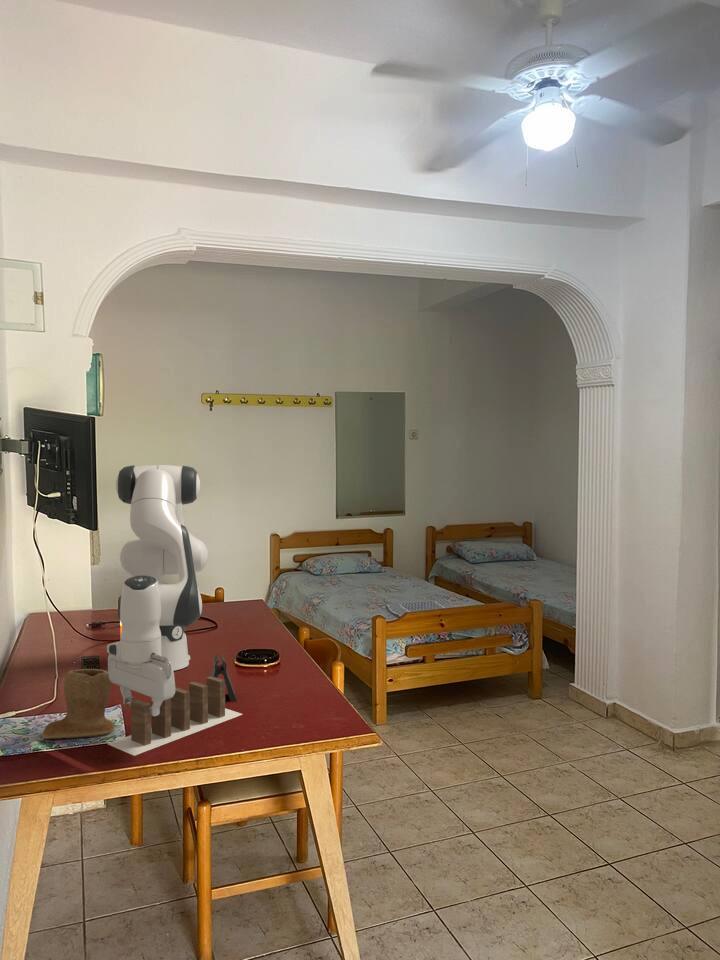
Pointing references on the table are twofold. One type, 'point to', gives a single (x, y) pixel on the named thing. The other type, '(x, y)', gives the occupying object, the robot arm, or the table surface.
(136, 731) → the domino
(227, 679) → the dark grey a-frame stand
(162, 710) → the domino
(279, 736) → the table surface
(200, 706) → the domino
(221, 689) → the domino
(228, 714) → the board
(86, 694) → the brown boot
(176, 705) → the domino
